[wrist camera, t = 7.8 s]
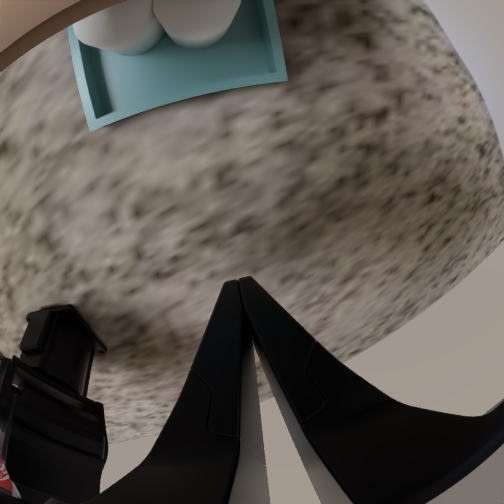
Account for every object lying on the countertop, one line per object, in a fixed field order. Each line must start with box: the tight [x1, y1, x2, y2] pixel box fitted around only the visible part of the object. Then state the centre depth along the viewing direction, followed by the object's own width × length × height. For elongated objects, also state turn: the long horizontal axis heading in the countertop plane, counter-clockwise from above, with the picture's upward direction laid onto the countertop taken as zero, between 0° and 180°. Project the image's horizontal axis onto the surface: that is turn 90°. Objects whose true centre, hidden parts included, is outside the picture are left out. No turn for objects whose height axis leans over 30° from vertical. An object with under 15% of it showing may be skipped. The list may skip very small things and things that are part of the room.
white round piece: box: [153, 0, 241, 49], centre depth 8 cm, size 3×3×4 cm
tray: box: [67, 0, 288, 132], centre depth 9 cm, size 9×10×2 cm
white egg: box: [73, 0, 165, 56], centre depth 7 cm, size 3×3×4 cm
